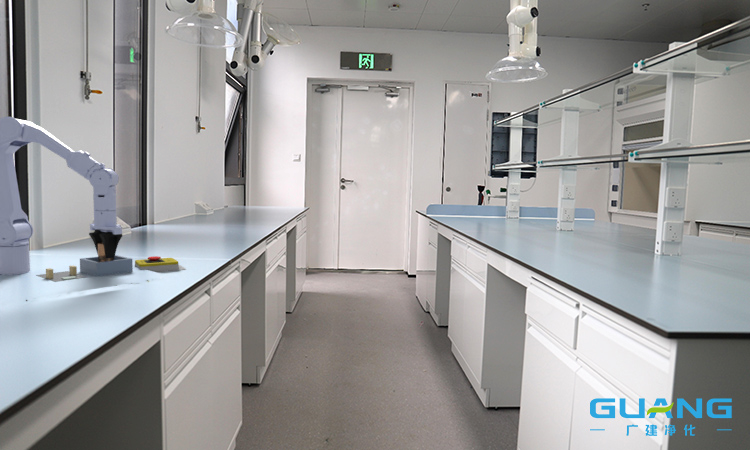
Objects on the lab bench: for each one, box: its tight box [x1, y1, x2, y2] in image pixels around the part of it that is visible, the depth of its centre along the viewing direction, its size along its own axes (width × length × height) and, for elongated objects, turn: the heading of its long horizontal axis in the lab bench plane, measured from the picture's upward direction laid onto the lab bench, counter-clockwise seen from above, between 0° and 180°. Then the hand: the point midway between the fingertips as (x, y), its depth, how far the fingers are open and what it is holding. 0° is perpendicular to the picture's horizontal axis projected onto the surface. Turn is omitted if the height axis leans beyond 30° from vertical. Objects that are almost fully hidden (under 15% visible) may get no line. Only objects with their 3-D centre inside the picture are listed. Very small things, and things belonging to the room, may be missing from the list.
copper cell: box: [97, 243, 114, 262], centre depth 137 cm, size 4×4×6 cm
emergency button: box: [134, 255, 186, 273], centre depth 149 cm, size 9×4×15 cm
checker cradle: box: [35, 265, 87, 283], centre depth 130 cm, size 12×8×4 cm, turn 56°
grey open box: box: [79, 254, 134, 277], centre depth 138 cm, size 10×10×5 cm
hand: (106, 256), depth 137 cm, fingers closed on copper cell, 4 cm apart
